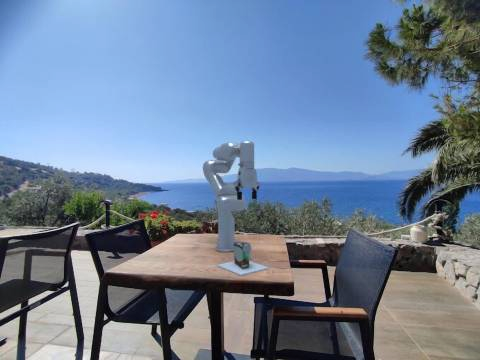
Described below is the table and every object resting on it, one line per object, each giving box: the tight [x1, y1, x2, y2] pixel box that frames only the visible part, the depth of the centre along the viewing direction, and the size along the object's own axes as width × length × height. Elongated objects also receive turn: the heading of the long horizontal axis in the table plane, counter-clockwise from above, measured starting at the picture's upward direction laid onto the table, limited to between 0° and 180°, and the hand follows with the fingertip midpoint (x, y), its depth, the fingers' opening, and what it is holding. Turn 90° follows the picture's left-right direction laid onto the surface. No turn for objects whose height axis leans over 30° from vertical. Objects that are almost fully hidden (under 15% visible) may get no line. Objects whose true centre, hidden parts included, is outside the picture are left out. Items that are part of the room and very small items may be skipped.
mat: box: [216, 260, 270, 277], centre depth 127 cm, size 18×16×1 cm
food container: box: [233, 241, 252, 269], centre depth 128 cm, size 12×6×10 cm, turn 22°
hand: (247, 199), depth 143 cm, fingers open, 9 cm apart
